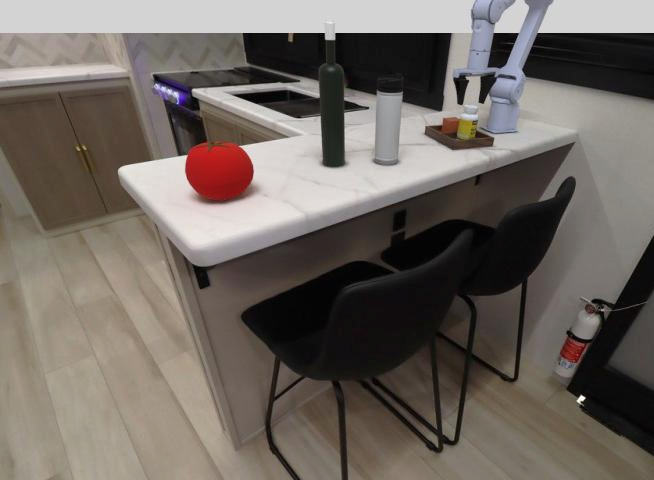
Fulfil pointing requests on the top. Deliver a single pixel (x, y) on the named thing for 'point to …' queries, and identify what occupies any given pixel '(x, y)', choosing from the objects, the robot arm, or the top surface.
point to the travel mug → (388, 118)
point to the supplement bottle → (468, 123)
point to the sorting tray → (452, 143)
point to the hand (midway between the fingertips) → (470, 103)
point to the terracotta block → (450, 124)
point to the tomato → (219, 170)
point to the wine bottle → (332, 104)
